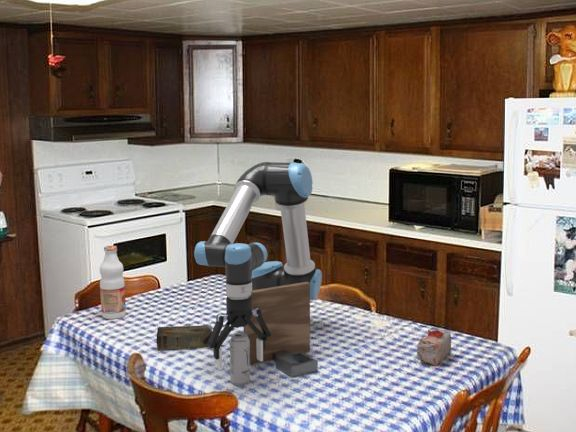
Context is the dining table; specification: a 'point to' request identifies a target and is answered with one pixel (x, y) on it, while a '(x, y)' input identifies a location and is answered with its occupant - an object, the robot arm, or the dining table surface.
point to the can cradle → (295, 363)
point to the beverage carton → (183, 337)
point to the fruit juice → (112, 285)
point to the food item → (434, 347)
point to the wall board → (281, 319)
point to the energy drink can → (239, 359)
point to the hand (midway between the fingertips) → (240, 364)
